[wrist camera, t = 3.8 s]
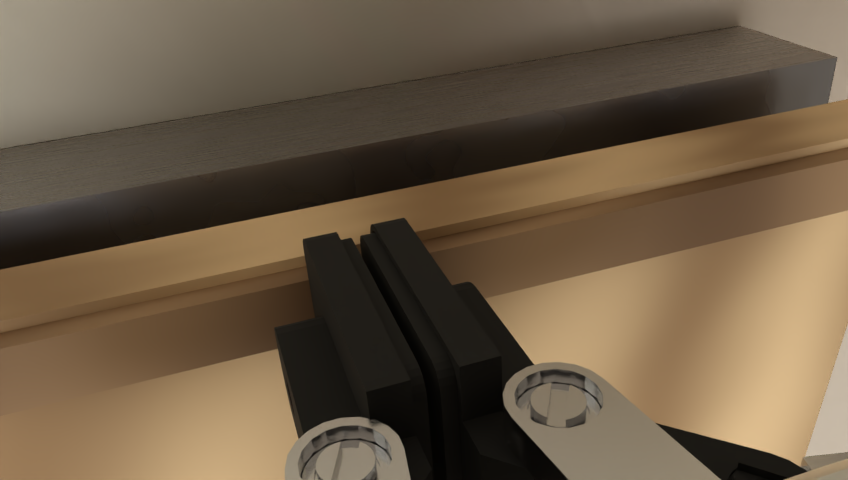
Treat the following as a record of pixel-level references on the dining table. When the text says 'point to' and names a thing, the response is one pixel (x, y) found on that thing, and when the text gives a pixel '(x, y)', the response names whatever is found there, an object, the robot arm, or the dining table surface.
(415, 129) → the stand
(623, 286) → the tan flat piece
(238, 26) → the dining table surface
